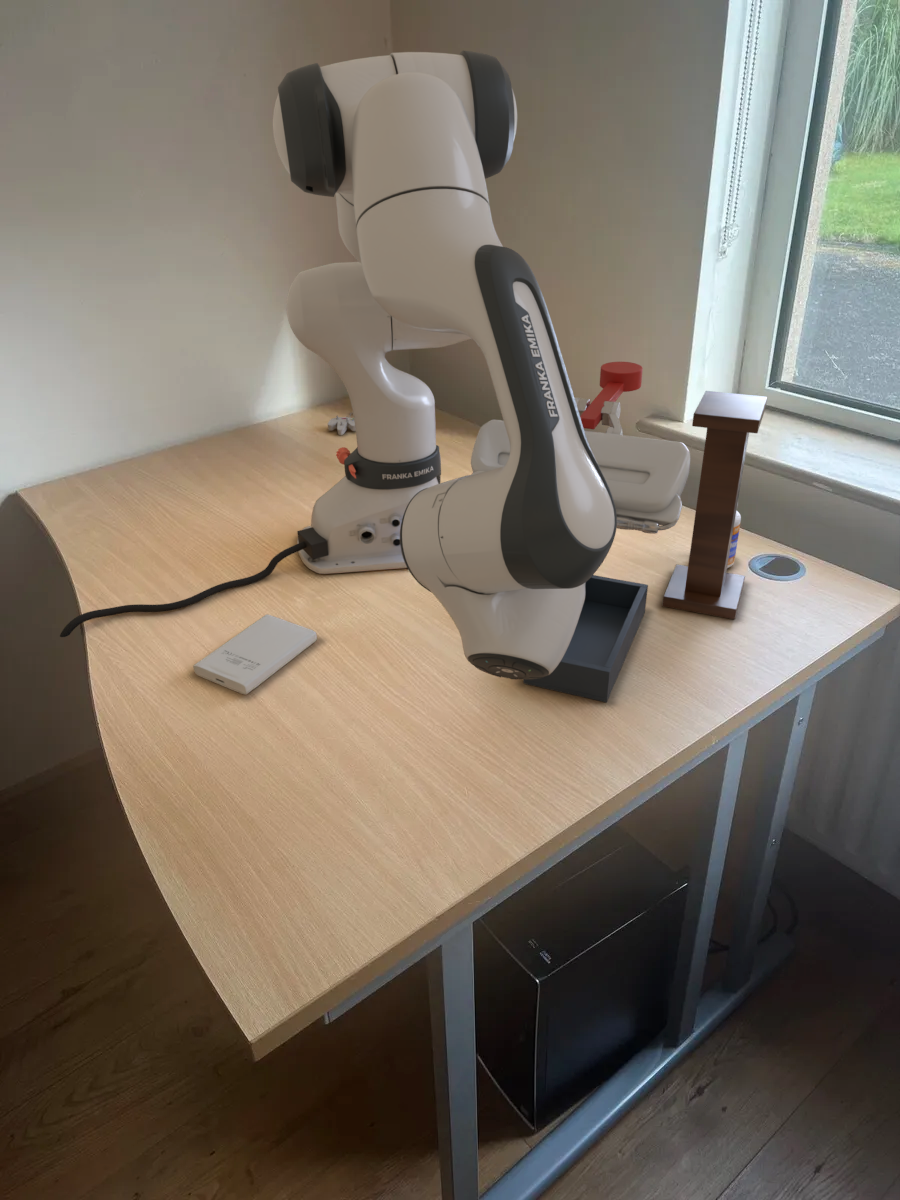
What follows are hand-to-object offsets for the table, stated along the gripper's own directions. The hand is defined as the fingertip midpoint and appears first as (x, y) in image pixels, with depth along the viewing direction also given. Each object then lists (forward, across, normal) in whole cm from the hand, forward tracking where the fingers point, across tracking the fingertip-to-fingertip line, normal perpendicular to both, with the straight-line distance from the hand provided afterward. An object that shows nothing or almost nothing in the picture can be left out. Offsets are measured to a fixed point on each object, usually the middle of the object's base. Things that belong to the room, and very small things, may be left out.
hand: (597, 404), depth 84 cm
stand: (+2, -11, +37) cm, 38 cm away
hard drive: (-27, +36, +20) cm, 49 cm away
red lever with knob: (+3, 0, +3) cm, 4 cm away
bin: (-12, 0, +28) cm, 31 cm away
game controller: (+38, +64, +57) cm, 94 cm away
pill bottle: (+10, -11, +42) cm, 44 cm away
